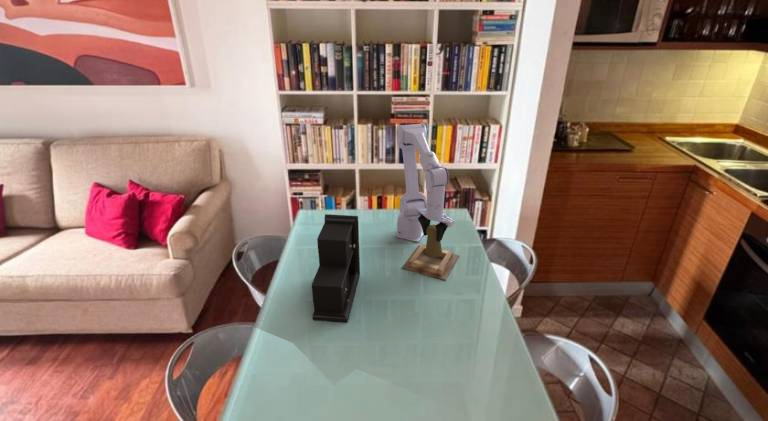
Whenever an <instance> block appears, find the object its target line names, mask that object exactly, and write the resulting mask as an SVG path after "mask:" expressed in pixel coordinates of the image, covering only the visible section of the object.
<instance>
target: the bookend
mask: <svg viewBox="0 0 768 421" xmlns="http://www.w3.org/2000/svg"><path fill="white" fill-rule="evenodd" d="M359 233H360V231H359V216H358V215H346V214H330V213H329V214H328V213H326V214H325V215H324V223H323V225H322V228H321V229H320V232H319V233H318V236H317V239H316V241H317V252H318V253H317V255H318V263H319V265H318V267H317V268H318V269H317V271H316V273H315V276H314V278H313V281H312V284H311V294H312V303H313V313H312V321H322V322H334V323H344V324H345V323H347V324H348V323H349V319H350V315H351V310H352V307H353V305H354V304H353V303H354V300H355V297H356V292H357V287H358V284H359V279H360V275H361V267H360V234H359Z"/></svg>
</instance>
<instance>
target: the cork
mask: <svg viewBox="0 0 768 421" xmlns="http://www.w3.org/2000/svg"><path fill="white" fill-rule="evenodd" d="M435 225H436V224H430V225H429V226H428V227H427V229H426V233H427V235H426V236H427V238H426V244H425V245H426V250H425V254H426V256H428V257H430V258H437V257H440V256H441V255H442V250H443V249H442V243H441V241H442V240H441V241H439V242H437V230H436V227H435Z"/></svg>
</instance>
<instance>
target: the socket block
mask: <svg viewBox="0 0 768 421" xmlns="http://www.w3.org/2000/svg"><path fill="white" fill-rule="evenodd" d="M425 250H426V244H422V243H421V245H420V244H418V245H417V246H416V248H415V249H414V251H413V252H412V253H411V255H410V256H409V257H408V259H406V261H405V262H404V263H403V265H402V266H401V269H403V270H407V271H409V272H414V273H418V274H421V275H423V276H428V277H431V278H435V279H437V280H442V281H447V279H448V277H449V275H450V274H451V271H452V270H453V268H454V266H455V264H456V263H457V261H458V259H459V258H460V254H459V255H458V254H456V253H454V252H453V251H450V250H446V249H442V255H441V256H440V257H437V258H430V257H428V256H426V254H425Z"/></svg>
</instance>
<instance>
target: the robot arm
mask: <svg viewBox="0 0 768 421" xmlns="http://www.w3.org/2000/svg"><path fill="white" fill-rule="evenodd" d="M427 131H428V130H427V127H426V125H425V124H424V123H423V122H421V123H415V124H413V123H412V124H399V125H398V127H397V129H396V133H395V134H396V144H397V148H398V149H401V151H402V158H403V171H404V180H405V182H404V183H405V193H404V194H402V195H401V196H400V198H399V215H398V217H397V222H396V235H395V237H396V238H400V239H404V240H407V241H410V242H411V241H412V242H415V243H419V242H420V240H421V239H422V237H423V236H424V237H426V236H428V235H427V233H426V229H427V227H428V226H429V225H431V221H434V222H438V223H437V224H434V225H435V227H436V230H437V242H439V241H442V240H443V237H444V235H445V232H446V231H447V229H448V228H452V227H453V226H454V224H455V220H454V219H452V218H450V217H449V216H447V214H445V213H444V204H445V192H446V186H447V185H449V182H450V173H449V170H448V168H447V167H446V166H444V165H442V164H441V163H440V161H439V158H438V156H437V155H436V153H435V152H434V151H432V150H431V149H430V147H429V144H428V142H427V135H428V132H427ZM416 152H418V155H419V156H420V157H419V159H418V160H419V164H420V165H421V168H422V169H423V172H424V180H425V190H426V195H425V194H424V193H423V192H420V190H419V178H418V175H419V174H418V164H417V155H416Z"/></svg>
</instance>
